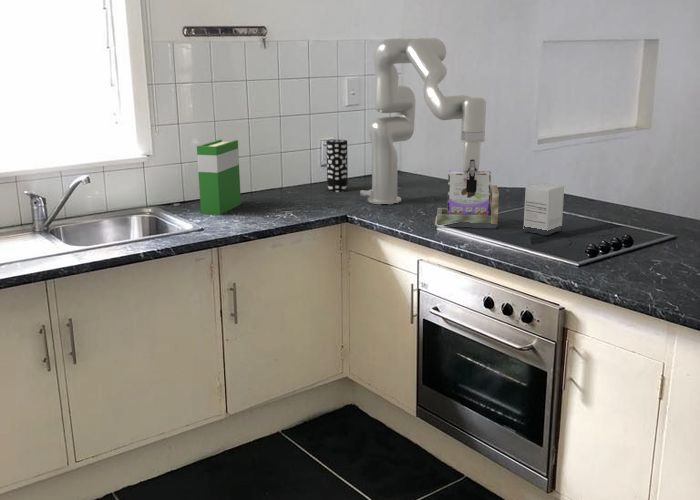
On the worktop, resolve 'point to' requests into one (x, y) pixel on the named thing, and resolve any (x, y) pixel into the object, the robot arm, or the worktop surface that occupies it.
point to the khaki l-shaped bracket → (491, 218)
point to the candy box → (469, 194)
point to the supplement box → (543, 206)
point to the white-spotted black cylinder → (337, 166)
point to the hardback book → (218, 176)
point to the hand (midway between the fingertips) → (470, 189)
